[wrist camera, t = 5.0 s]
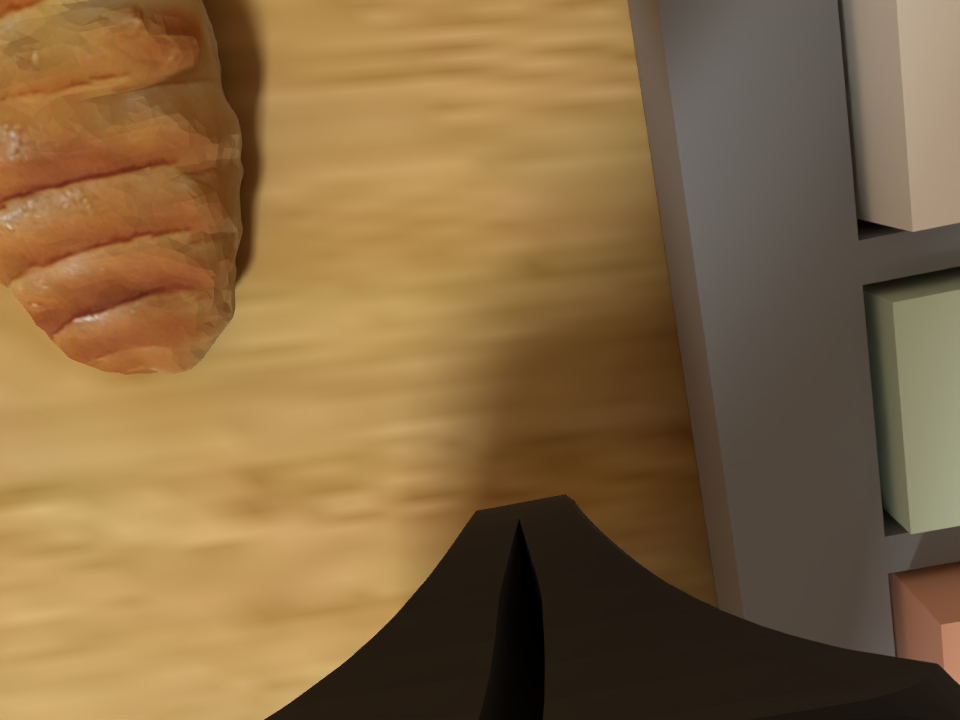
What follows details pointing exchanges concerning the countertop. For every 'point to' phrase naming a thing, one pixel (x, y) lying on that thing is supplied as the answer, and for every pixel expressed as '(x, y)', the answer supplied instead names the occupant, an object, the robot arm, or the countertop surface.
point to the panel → (778, 311)
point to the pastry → (118, 179)
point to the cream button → (903, 109)
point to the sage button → (917, 395)
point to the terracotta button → (927, 615)
